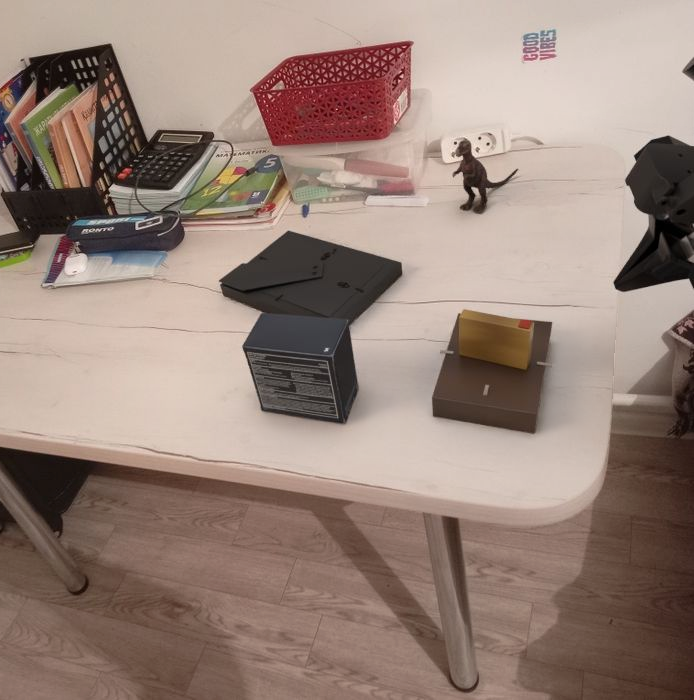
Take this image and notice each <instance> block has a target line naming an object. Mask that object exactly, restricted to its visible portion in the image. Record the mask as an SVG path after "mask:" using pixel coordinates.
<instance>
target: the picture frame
mask: <svg viewBox="0 0 694 700" xmlns="http://www.w3.org/2000/svg"><path fill="white" fill-rule="evenodd" d="M402 275H403V266H402V261H398V260H395V259H391V258H388V257H384V256H382V255H381V256H380V255H377V254H373V253H370V252H366V251H363V250H359V249H356V248H352V247H348V246H345V245H342V244H337V243H336V242H335V243H334V242H331V241H328V240H324V239H320V238H317V237H313V236H310V235H306V234H303V233H299V232H295V231H292V230H287V231H285V232H284V233H283V234H282V235H280V236H279V237H278V238H277V239H276V240H274V241H273V242H271V244H269V245H268V246H266V247H265V248H264V249H263V250H262V251H260V252H258V254H257V255H255V256H254V257H253V258H251V259H250V260H249V261H247V262H244V263H243V262H241V263H240V264H239V265H237V266H236V267H234V268H233V269H232V270H231V271H230V272H228V273H227V274H225V275H223V277H221V278H220V279H219V280H218V282H219V286H220V290H221V293H222V296H224V297H226V298H228V299H231V300H233V301H235V302H238V303H239V304H240V303H241V304H243V305H245V306H248V307H250V308H253V309H254V310H258V311H260V312H261V313H270V314H283V315H295V316H308V317H321V318H335V319H348V321H349V326H350V325H352V323H354V322H355V320H356V319H357V318H359V316H361V315H362V314H363V313H364V312H365V311H366V310H368V308H369V307H370V306H371V305H372V304H374V302H375V301H376V300H378V298H379V297H381V295H383V294H384V293H385V292H386V291H387V290H388V289H389V288H390V287H391V286H392V285H393V284H394V283H395V282H396V281H398V279H400V277H401V276H402Z"/></svg>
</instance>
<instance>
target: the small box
mask: <svg viewBox="0 0 694 700" xmlns="http://www.w3.org/2000/svg"><path fill="white" fill-rule="evenodd" d="M241 348H242V351H243V353H244V356H245V359H246V361H247V366H248V369H249V372H250V375H251V379H252V381H253V385H254V389H255V392H256V396H257V398H258V402H259V406H260V410H261V411H263V412H268V413H274V414H281V415H287V416H292V417H298V418H305V419H312V420H318V421H324V422H329V423H330V422H331V423H337V424H343V425H344V424H345V423H346V422H347V421H348V418H349V415H350V411H351V409H352V406H353V403H354V400H355V399H356V397H357V394H358V391H359V386H360V385H359V382H358V376H357V368H356V362H355V356H354V350H353V343H352V335H351V329H350V325H349V321H348V319H335V318H321V317H308V316H295V315H283V314H270V313H265V312H261V313H260V315H259V317H258V318H257V320H256V321H255V323H254V325H253V326H252V328H251V330H250V331H249V334H248V335H247V337H246V338H245V341H244V342H243V344H242V345H241Z"/></svg>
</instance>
